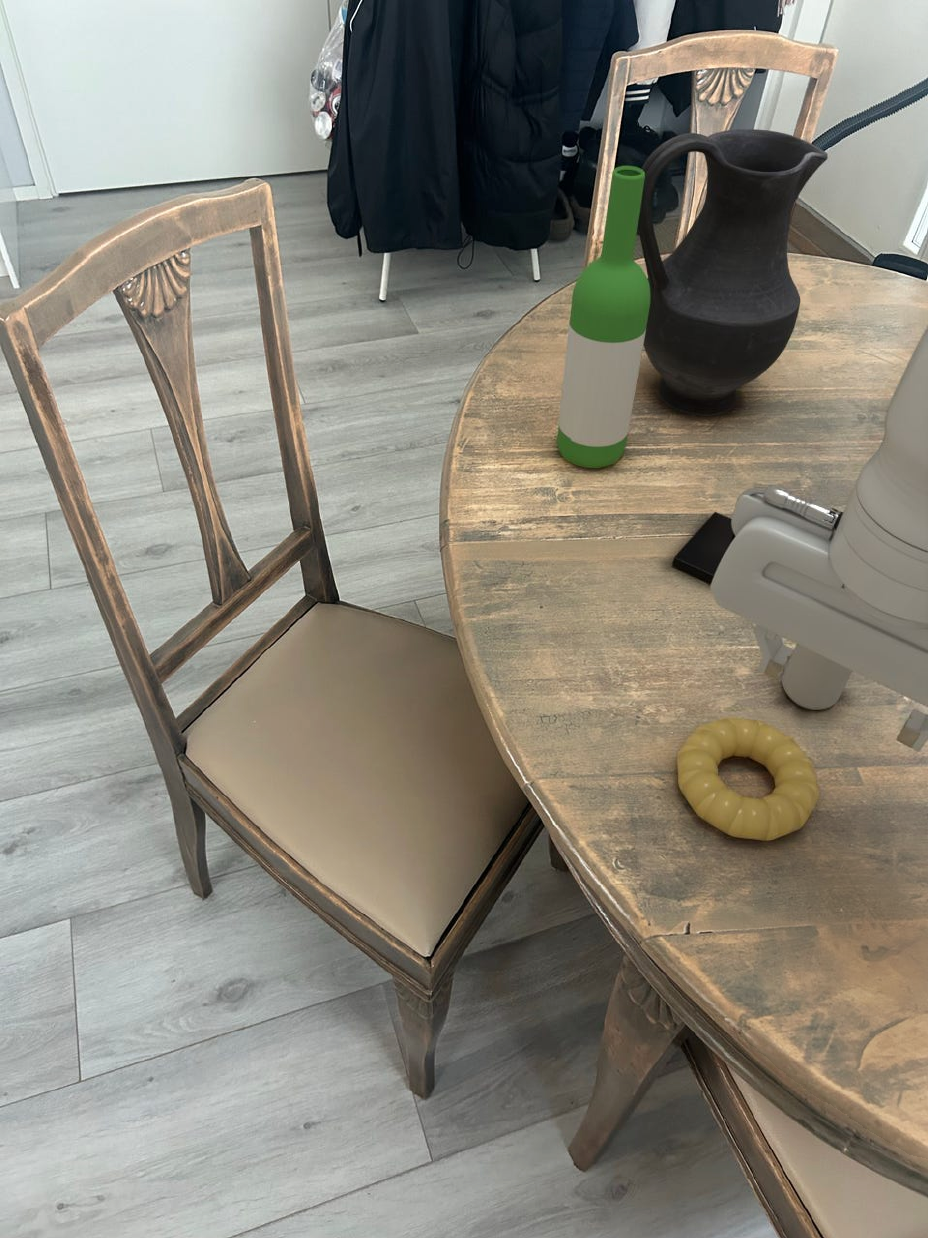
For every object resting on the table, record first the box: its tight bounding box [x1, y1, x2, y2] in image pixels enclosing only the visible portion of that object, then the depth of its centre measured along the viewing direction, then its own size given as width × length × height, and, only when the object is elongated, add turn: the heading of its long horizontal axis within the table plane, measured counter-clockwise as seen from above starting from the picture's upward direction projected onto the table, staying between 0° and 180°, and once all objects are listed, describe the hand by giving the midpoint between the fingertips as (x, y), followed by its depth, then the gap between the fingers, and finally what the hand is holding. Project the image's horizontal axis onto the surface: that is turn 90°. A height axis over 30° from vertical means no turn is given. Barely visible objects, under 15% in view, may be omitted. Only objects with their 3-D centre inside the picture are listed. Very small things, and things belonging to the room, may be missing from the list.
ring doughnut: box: [676, 716, 820, 842], centre depth 67 cm, size 10×10×3 cm
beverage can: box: [781, 643, 854, 711], centre depth 71 cm, size 5×5×12 cm
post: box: [671, 511, 736, 585], centre depth 84 cm, size 9×9×7 cm
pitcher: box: [637, 128, 828, 417], centre depth 97 cm, size 17×21×30 cm
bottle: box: [556, 165, 650, 469], centre depth 89 cm, size 8×8×30 cm
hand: (838, 703), depth 58 cm, fingers open, 8 cm apart
